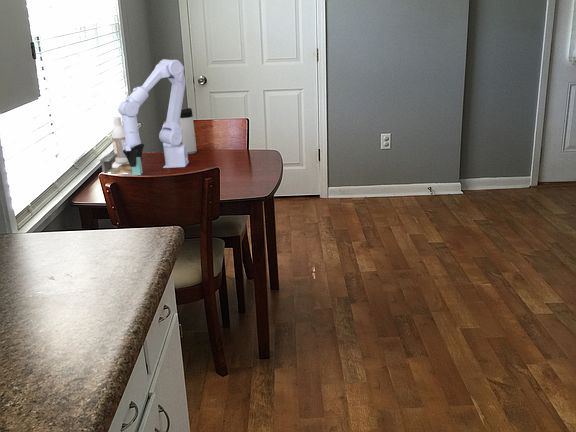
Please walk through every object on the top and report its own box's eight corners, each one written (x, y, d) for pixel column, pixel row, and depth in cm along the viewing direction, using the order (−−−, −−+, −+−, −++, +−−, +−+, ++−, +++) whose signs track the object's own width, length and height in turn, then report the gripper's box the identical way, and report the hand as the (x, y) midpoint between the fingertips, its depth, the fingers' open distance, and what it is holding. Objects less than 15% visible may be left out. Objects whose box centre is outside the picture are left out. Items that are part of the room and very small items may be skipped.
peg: (142, 173, 267) (140, 156, 265) (140, 175, 264) (138, 158, 262) (135, 173, 267) (132, 157, 265) (132, 175, 264) (130, 159, 262)
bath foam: (113, 161, 291) (106, 117, 284) (128, 159, 294) (122, 115, 288) (118, 164, 285) (111, 119, 279) (133, 161, 288) (127, 117, 282)
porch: (140, 168, 275) (137, 152, 273) (133, 174, 266) (130, 158, 264) (110, 170, 276) (107, 154, 274) (102, 176, 267) (99, 159, 265)
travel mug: (200, 151, 298) (195, 108, 292) (191, 154, 293) (185, 110, 287) (189, 150, 302) (184, 107, 295) (180, 153, 297) (175, 110, 290)
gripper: (127, 128, 267) (131, 160, 271) (115, 135, 253) (121, 169, 258) (143, 127, 267) (148, 159, 271) (133, 134, 253) (138, 168, 257)
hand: (136, 164), depth 264 cm, fingers open, 7 cm apart
